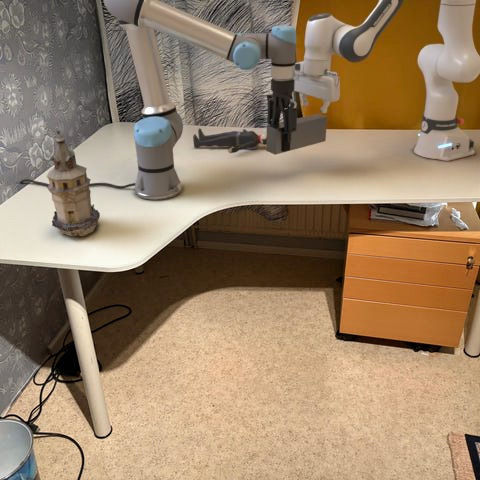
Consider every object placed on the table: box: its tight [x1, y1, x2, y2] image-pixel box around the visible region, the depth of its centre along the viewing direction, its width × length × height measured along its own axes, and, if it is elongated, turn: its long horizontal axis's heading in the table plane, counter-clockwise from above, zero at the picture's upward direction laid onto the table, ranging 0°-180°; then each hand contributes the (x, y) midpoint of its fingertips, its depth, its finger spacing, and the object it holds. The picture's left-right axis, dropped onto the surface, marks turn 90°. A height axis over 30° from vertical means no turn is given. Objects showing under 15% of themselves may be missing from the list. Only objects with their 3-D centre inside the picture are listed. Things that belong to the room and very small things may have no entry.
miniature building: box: [46, 129, 101, 237], centre depth 148 cm, size 13×14×30 cm
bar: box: [265, 113, 328, 155], centre depth 182 cm, size 23×5×9 cm, turn 125°
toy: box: [192, 128, 267, 155], centre depth 214 cm, size 26×6×30 cm
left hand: (280, 148), depth 181 cm, fingers closed on bar, 5 cm apart
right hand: (314, 109), depth 182 cm, fingers open, 8 cm apart
